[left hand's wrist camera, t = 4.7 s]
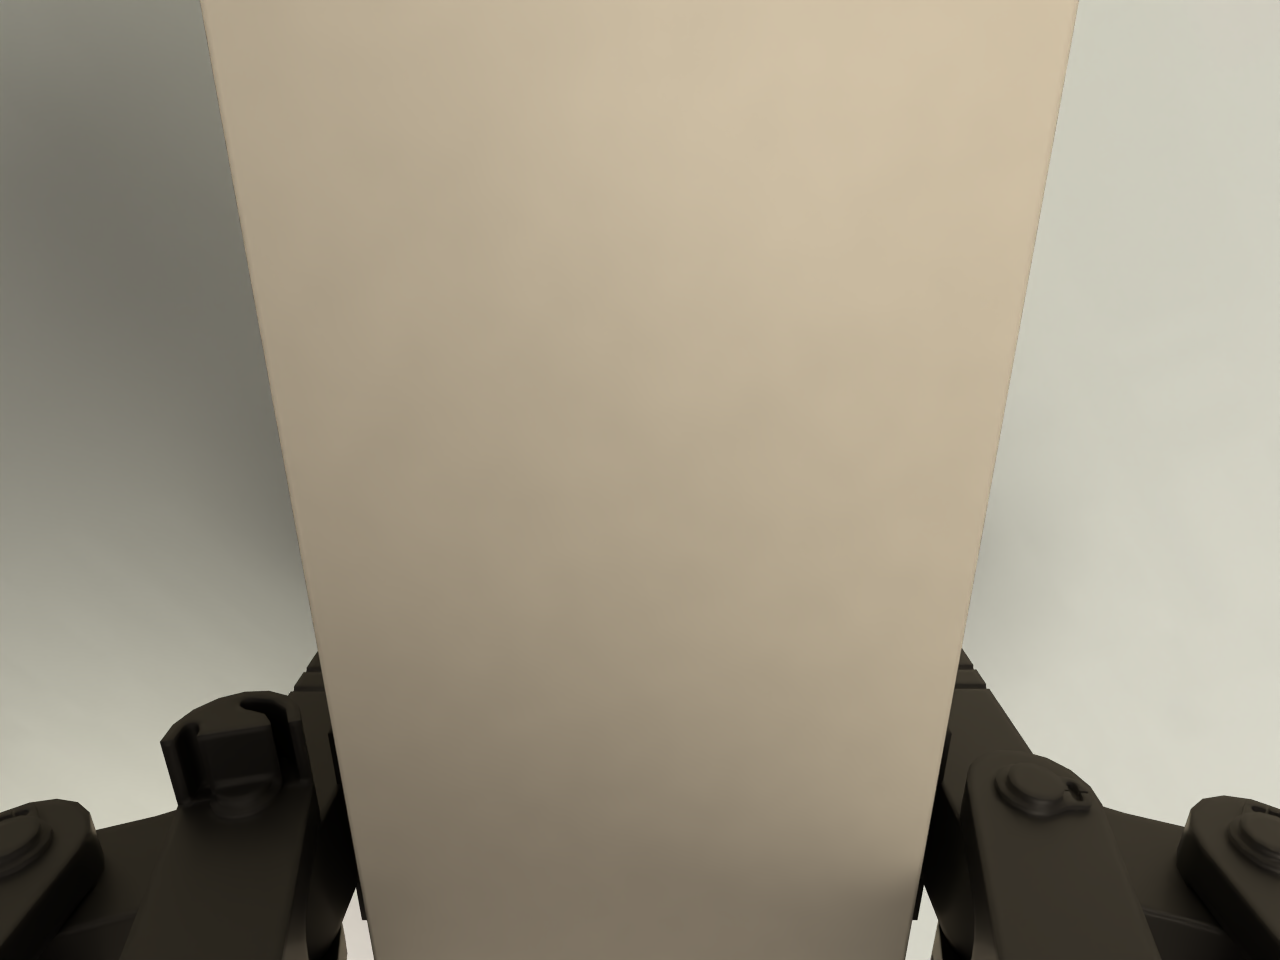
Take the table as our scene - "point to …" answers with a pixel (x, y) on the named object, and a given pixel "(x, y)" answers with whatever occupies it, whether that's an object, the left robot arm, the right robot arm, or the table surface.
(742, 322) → the bar
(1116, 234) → the table surface
